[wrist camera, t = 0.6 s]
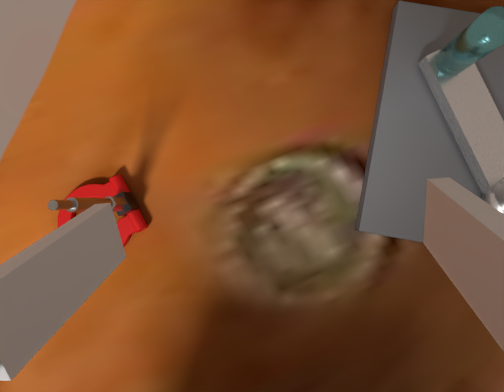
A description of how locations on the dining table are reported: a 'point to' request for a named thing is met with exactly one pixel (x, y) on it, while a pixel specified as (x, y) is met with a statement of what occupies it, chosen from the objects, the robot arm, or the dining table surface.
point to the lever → (472, 101)
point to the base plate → (416, 123)
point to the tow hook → (106, 193)
